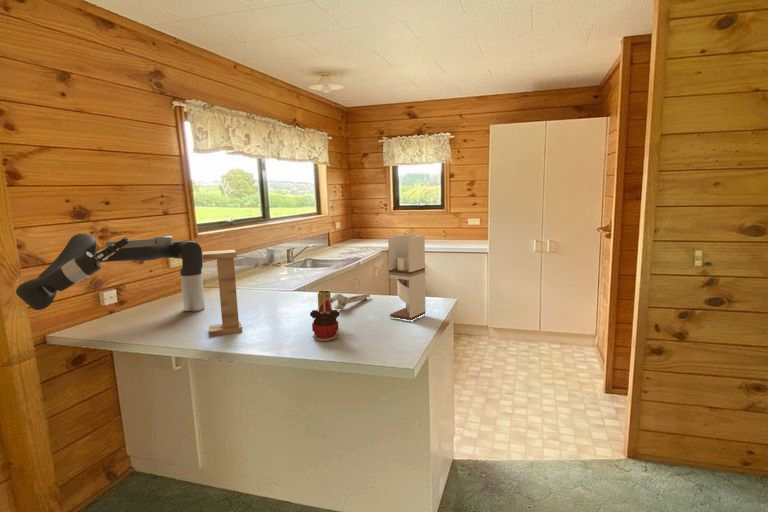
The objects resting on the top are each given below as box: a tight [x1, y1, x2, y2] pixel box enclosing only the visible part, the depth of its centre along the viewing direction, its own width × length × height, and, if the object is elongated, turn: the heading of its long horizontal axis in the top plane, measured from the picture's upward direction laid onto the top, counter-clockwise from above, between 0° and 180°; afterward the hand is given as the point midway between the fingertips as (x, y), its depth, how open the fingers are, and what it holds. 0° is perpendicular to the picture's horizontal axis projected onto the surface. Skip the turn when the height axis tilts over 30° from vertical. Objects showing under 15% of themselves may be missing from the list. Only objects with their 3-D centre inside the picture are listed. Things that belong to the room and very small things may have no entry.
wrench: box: [332, 293, 371, 311], centre depth 208 cm, size 8×2×30 cm
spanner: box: [105, 235, 174, 248], centre depth 158 cm, size 6×21×3 cm, turn 113°
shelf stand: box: [202, 249, 243, 337], centre depth 171 cm, size 9×12×32 cm
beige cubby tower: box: [387, 233, 426, 320], centre depth 183 cm, size 11×11×35 cm
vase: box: [317, 289, 333, 311], centre depth 176 cm, size 6×6×14 cm
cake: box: [309, 291, 340, 342], centre depth 161 cm, size 11×9×18 cm
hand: (127, 240), depth 156 cm, fingers closed on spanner, 3 cm apart
